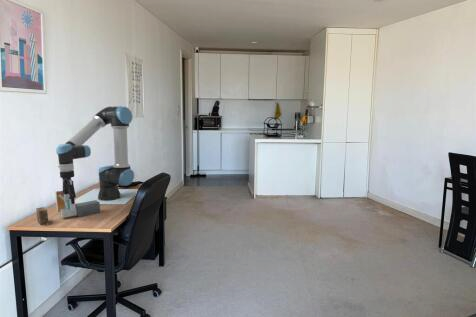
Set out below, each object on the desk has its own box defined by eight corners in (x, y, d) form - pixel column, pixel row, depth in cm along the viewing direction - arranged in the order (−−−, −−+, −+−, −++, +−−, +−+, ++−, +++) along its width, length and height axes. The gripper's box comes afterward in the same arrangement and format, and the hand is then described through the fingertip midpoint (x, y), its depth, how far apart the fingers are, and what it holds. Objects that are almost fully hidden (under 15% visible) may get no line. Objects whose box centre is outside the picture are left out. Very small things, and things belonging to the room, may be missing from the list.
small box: (57, 211, 219) (55, 191, 217) (56, 209, 224) (54, 189, 222) (71, 209, 223) (70, 189, 221) (70, 207, 229) (68, 187, 227)
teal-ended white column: (93, 209, 218) (92, 195, 217) (96, 210, 215) (95, 197, 213) (60, 215, 206) (59, 201, 205) (63, 217, 203) (61, 203, 201)
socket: (45, 220, 203) (44, 206, 202) (48, 223, 197) (47, 209, 195) (37, 221, 200) (36, 208, 199) (40, 225, 194) (39, 211, 193)
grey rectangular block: (96, 210, 221) (95, 200, 220) (100, 212, 216) (99, 202, 215) (74, 214, 212) (74, 204, 211) (78, 217, 207) (77, 206, 206)
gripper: (54, 168, 210) (58, 203, 213) (65, 174, 192) (68, 212, 196) (68, 167, 215) (71, 201, 218) (79, 172, 197) (82, 209, 200)
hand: (70, 206), depth 207 cm, fingers open, 11 cm apart
